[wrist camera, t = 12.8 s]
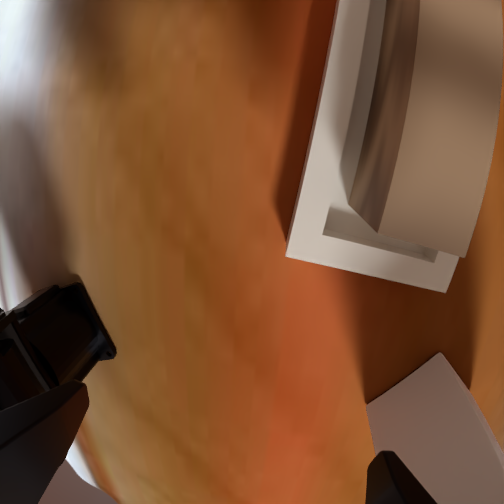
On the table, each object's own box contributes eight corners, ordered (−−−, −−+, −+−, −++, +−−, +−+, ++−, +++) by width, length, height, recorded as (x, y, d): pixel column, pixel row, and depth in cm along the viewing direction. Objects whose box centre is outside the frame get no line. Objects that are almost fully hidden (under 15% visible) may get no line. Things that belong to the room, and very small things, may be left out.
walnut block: (413, 222, 16) (464, 258, 10) (348, 204, 16) (377, 233, 11) (449, 6, 12) (497, -32, 6) (388, -20, 12) (420, -71, 6)
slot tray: (429, 276, 18) (445, 293, 16) (285, 242, 18) (285, 256, 16) (477, -2, 11) (495, -14, 9) (345, -55, 12) (351, -75, 9)
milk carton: (364, 404, 22) (395, 638, 4) (439, 349, 20) (541, 578, 2) (405, 437, 23) (442, 620, 5) (470, 391, 20) (546, 569, 3)
